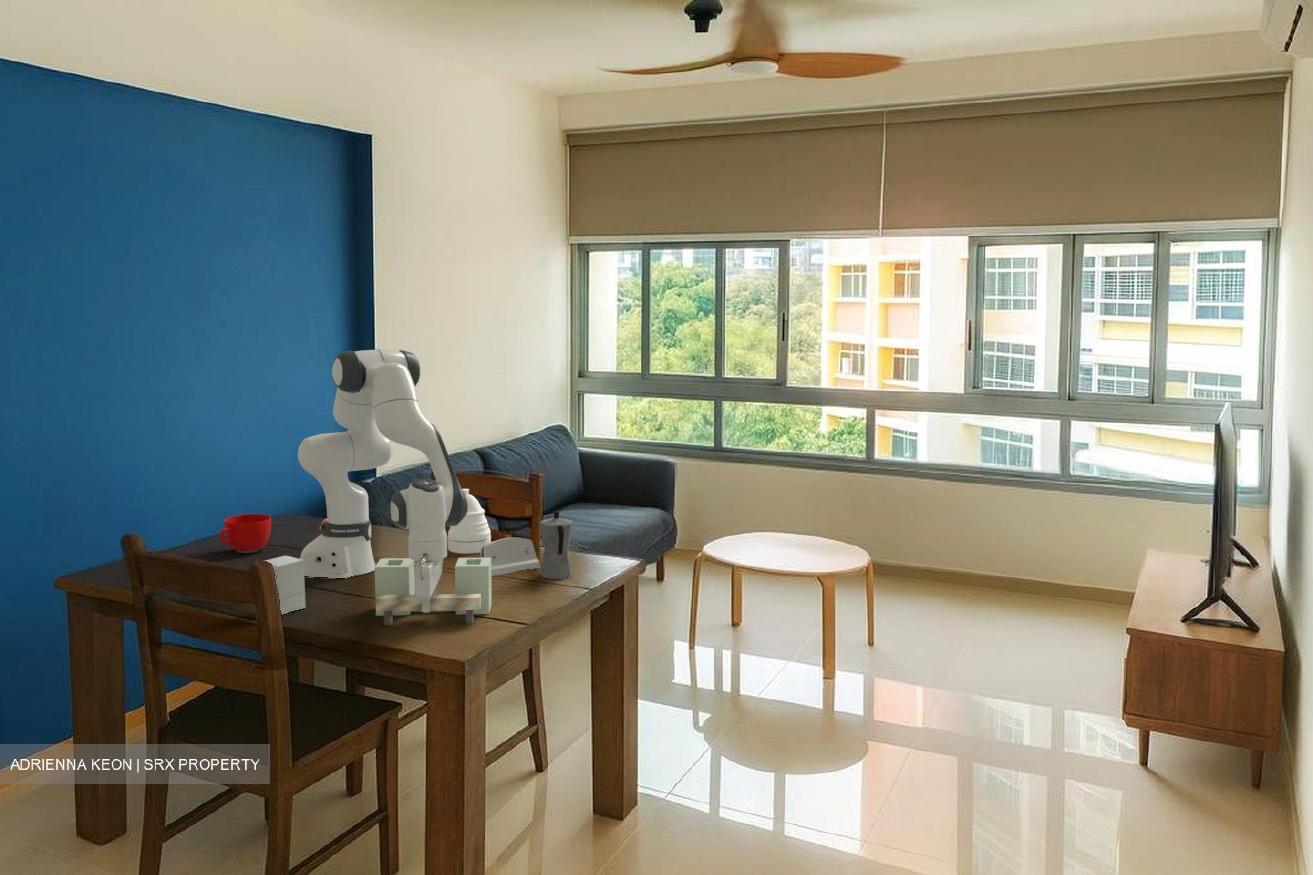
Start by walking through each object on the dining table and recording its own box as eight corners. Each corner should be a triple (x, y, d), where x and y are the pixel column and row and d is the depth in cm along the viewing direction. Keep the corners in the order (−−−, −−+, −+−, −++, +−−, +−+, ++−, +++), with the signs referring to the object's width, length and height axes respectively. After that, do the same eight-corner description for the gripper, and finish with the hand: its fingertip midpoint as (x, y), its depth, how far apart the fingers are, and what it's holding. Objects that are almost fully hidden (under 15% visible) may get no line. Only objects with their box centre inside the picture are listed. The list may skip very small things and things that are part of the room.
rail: (376, 625, 237) (375, 598, 236) (378, 621, 240) (378, 594, 239) (479, 624, 239) (479, 597, 238) (481, 620, 241) (480, 593, 241)
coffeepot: (536, 569, 286) (536, 507, 284) (569, 567, 288) (569, 505, 286) (544, 584, 271) (544, 519, 269) (578, 582, 274) (579, 517, 271)
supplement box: (287, 603, 252) (285, 554, 250) (306, 609, 248) (304, 559, 246) (261, 611, 246) (259, 560, 244) (280, 617, 242) (278, 565, 240)
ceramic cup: (205, 557, 295) (203, 523, 293) (248, 544, 310) (247, 512, 309) (239, 562, 290) (237, 528, 288) (281, 548, 305) (280, 516, 304)
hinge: (488, 576, 278) (482, 540, 280) (481, 578, 282) (475, 543, 284) (541, 567, 288) (535, 532, 290) (533, 569, 292) (527, 535, 293)
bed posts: (376, 615, 244) (374, 567, 242) (382, 605, 252) (381, 558, 250) (488, 613, 246) (488, 566, 244) (491, 603, 254) (491, 557, 252)
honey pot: (439, 548, 308) (438, 490, 306) (472, 541, 318) (472, 484, 315) (466, 555, 300) (465, 496, 297) (499, 548, 310) (499, 490, 307)
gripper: (435, 560, 227) (436, 620, 228) (446, 538, 247) (447, 593, 249) (406, 561, 226) (408, 620, 228) (420, 539, 246) (421, 594, 248)
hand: (428, 606), depth 238 cm, fingers open, 6 cm apart
